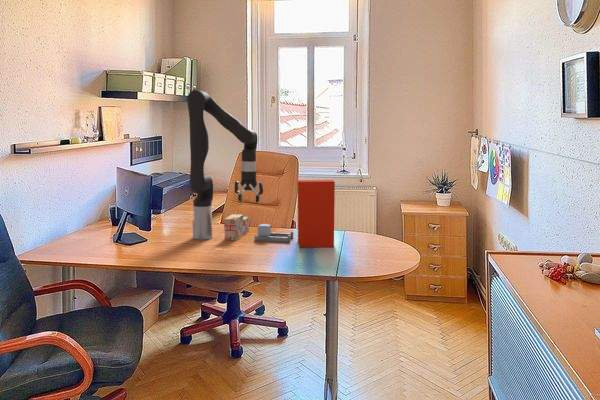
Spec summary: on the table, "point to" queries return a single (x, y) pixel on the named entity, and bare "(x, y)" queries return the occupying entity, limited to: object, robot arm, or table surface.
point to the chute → (275, 237)
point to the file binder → (316, 213)
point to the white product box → (235, 226)
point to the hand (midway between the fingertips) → (248, 202)
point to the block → (264, 230)
